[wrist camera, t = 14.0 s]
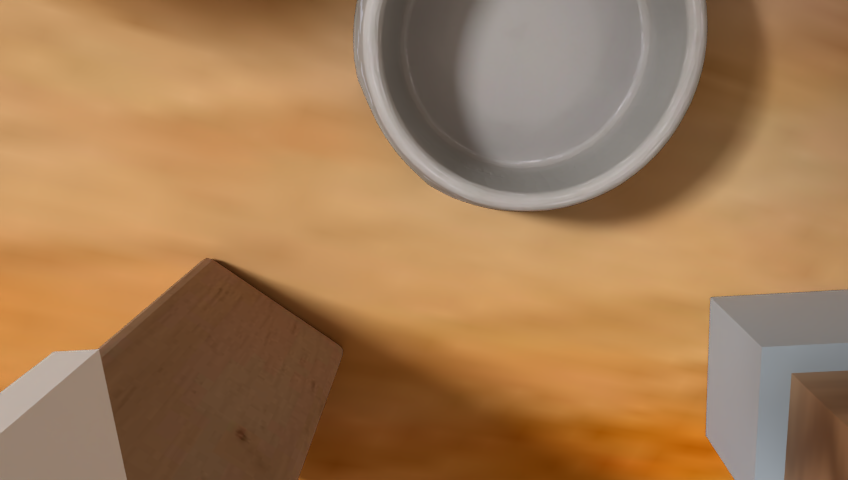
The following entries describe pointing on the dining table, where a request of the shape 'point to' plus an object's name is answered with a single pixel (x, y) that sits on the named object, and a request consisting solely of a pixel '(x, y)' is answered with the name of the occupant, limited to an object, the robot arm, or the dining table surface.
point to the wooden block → (217, 383)
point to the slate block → (766, 371)
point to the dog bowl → (528, 91)
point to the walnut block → (817, 427)
